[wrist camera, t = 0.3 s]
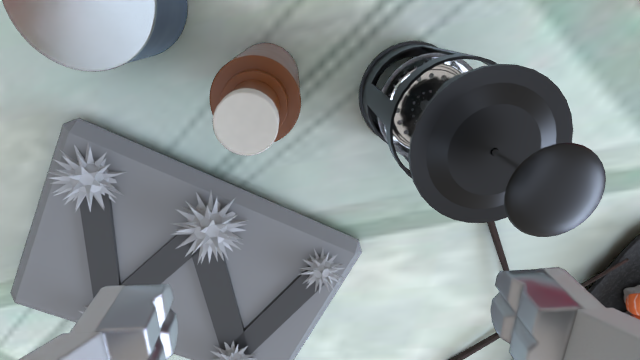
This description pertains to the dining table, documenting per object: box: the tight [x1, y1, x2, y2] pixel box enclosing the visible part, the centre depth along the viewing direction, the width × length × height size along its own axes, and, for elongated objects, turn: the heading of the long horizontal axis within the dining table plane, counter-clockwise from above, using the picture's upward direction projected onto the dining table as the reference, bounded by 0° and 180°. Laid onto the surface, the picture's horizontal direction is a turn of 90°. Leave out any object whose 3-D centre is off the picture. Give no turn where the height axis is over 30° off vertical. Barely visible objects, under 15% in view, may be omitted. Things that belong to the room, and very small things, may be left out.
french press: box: [359, 41, 606, 237], centre depth 27 cm, size 12×9×23 cm
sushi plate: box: [449, 221, 640, 360], centre depth 46 cm, size 29×30×4 cm
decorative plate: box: [11, 118, 362, 360], centre depth 40 cm, size 30×22×7 cm
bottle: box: [210, 43, 301, 156], centre depth 28 cm, size 6×6×18 cm
